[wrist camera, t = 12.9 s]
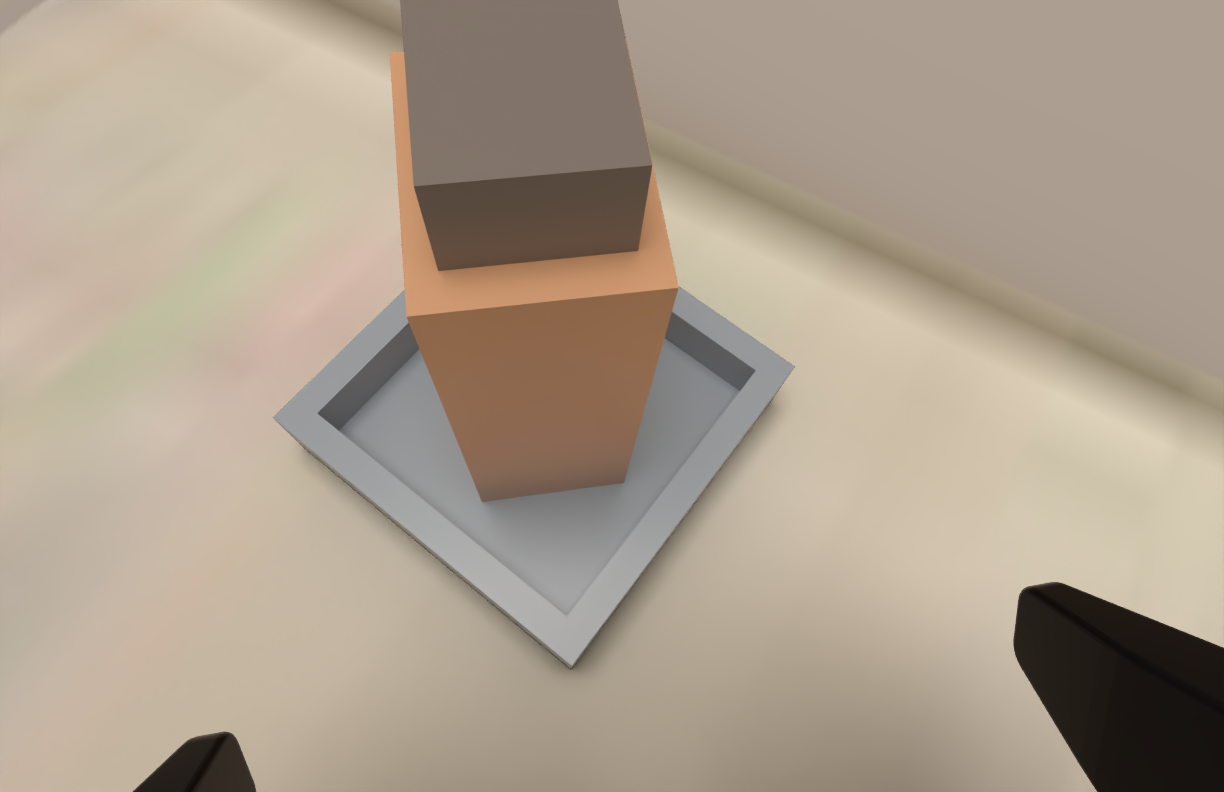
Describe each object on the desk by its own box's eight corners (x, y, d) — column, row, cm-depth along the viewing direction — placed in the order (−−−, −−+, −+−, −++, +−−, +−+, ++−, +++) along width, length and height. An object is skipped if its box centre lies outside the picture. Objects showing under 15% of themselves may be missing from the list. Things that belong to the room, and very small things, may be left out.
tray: (570, 669, 20) (571, 665, 18) (302, 447, 22) (272, 417, 20) (772, 399, 24) (795, 366, 21) (524, 224, 26) (520, 177, 23)
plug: (624, 482, 22) (701, 207, 10) (482, 502, 21) (374, 239, 9) (598, 326, 23) (635, -73, 11) (466, 340, 23) (360, -59, 11)
